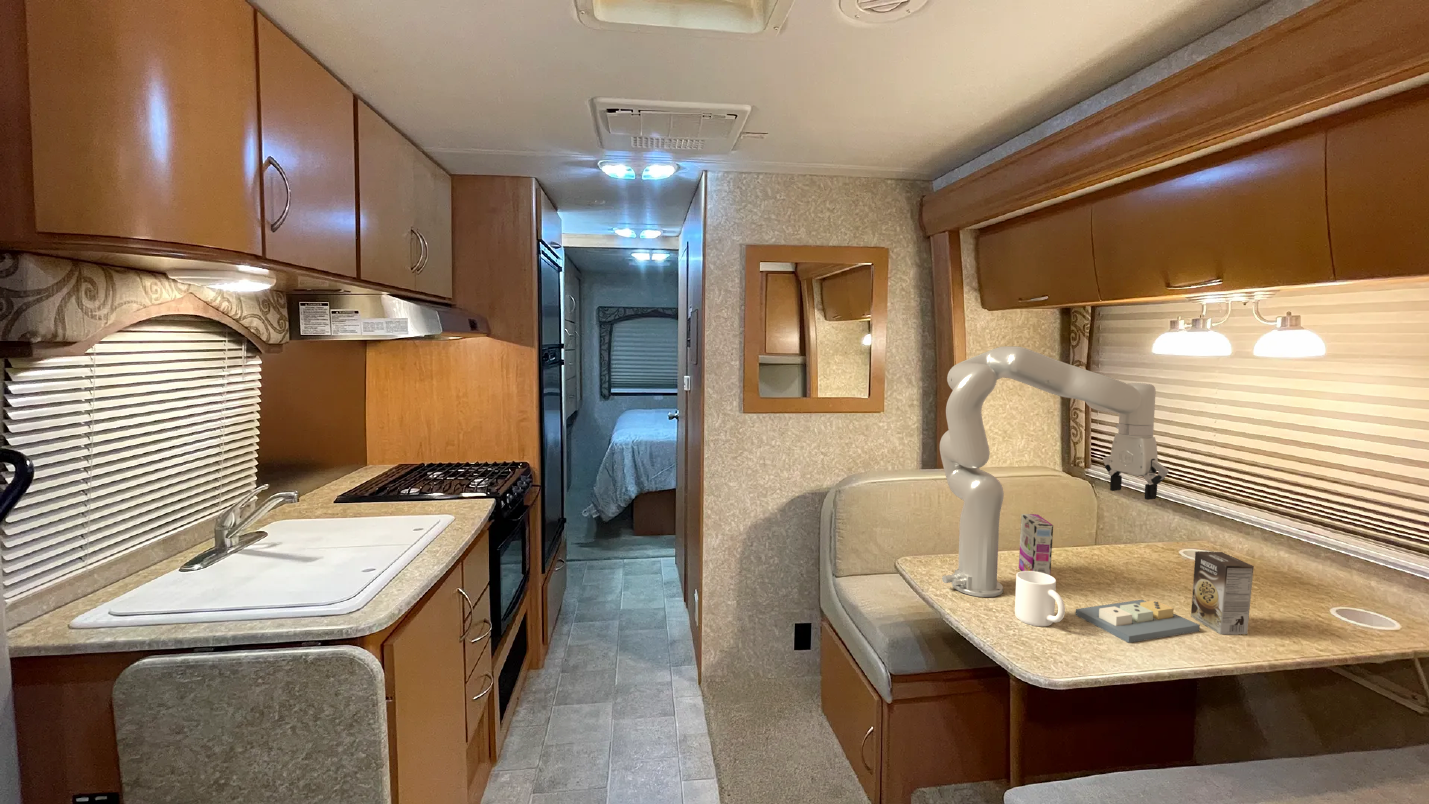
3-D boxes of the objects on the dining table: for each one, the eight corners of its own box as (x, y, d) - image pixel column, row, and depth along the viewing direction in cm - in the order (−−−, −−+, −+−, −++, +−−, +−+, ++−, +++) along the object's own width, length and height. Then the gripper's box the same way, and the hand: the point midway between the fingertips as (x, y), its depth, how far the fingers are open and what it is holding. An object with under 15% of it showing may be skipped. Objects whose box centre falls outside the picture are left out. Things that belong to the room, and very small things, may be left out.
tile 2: (1137, 623, 138) (1137, 612, 137) (1119, 614, 142) (1120, 604, 142) (1152, 620, 139) (1153, 610, 138) (1134, 612, 143) (1135, 602, 143)
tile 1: (1116, 626, 136) (1116, 616, 136) (1098, 617, 140) (1099, 607, 140) (1131, 623, 137) (1132, 613, 137) (1114, 615, 141) (1114, 605, 141)
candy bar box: (1051, 584, 163) (1054, 525, 162) (1031, 583, 164) (1034, 524, 162) (1036, 568, 174) (1038, 513, 173) (1017, 568, 175) (1020, 512, 173)
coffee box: (1189, 616, 143) (1193, 550, 142) (1216, 616, 143) (1221, 550, 142) (1219, 635, 134) (1225, 565, 133) (1249, 635, 134) (1255, 565, 133)
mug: (1076, 631, 137) (1078, 587, 136) (1048, 637, 134) (1050, 592, 133) (1033, 609, 148) (1035, 568, 147) (1006, 614, 145) (1008, 573, 144)
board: (1128, 642, 131) (1129, 636, 131) (1075, 615, 145) (1075, 609, 144) (1199, 631, 136) (1199, 624, 136) (1141, 605, 150) (1141, 599, 149)
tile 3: (1157, 619, 139) (1158, 609, 139) (1139, 611, 143) (1140, 601, 143) (1173, 617, 140) (1173, 607, 140) (1154, 609, 144) (1155, 599, 144)
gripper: (1095, 427, 165) (1092, 488, 166) (1157, 436, 148) (1153, 504, 150) (1116, 425, 167) (1113, 486, 168) (1180, 434, 150) (1176, 501, 152)
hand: (1132, 494), depth 159 cm, fingers open, 9 cm apart
